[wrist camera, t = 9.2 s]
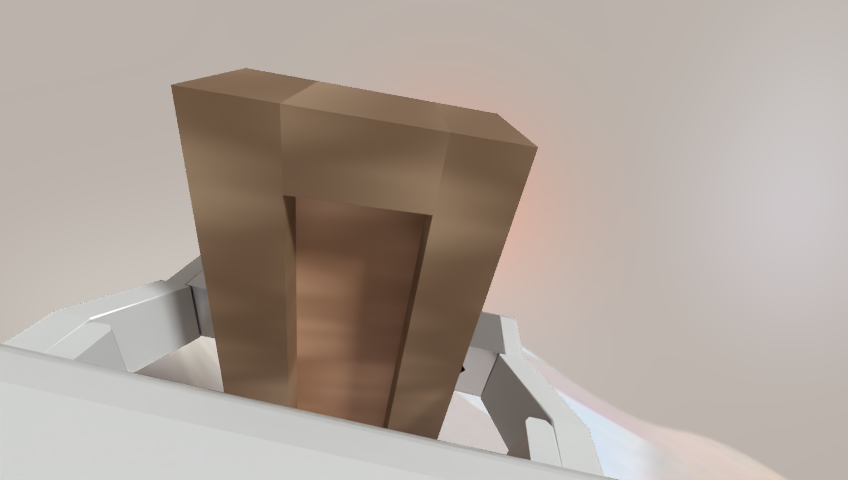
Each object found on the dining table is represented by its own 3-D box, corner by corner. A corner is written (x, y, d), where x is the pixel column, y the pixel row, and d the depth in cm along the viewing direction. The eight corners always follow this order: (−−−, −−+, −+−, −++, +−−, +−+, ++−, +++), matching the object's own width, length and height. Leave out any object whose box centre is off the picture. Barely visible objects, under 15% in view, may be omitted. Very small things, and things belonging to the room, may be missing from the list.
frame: (244, 509, 12) (171, 84, 5) (271, 426, 15) (246, 68, 8) (412, 511, 13) (537, 147, 6) (410, 432, 16) (496, 113, 9)
